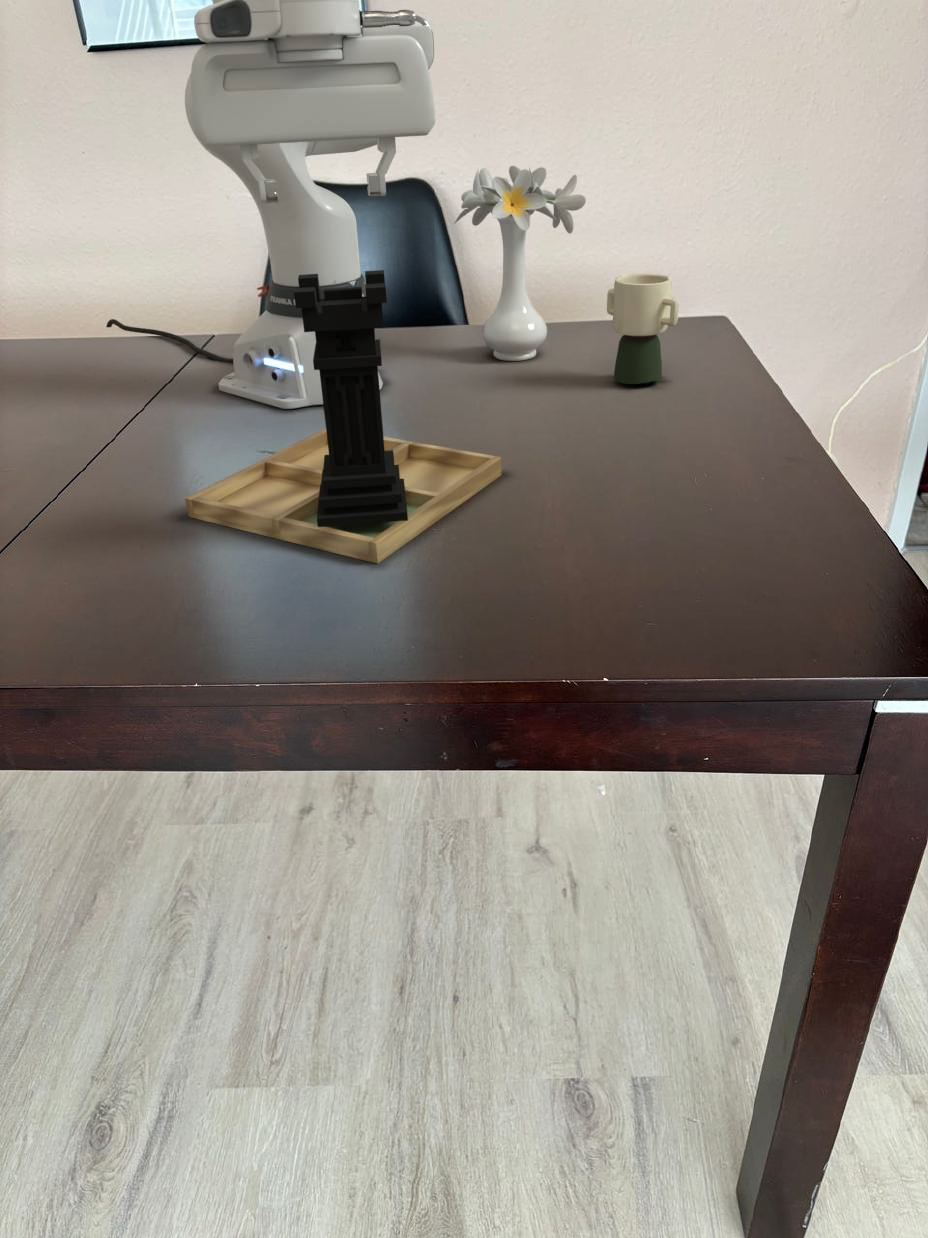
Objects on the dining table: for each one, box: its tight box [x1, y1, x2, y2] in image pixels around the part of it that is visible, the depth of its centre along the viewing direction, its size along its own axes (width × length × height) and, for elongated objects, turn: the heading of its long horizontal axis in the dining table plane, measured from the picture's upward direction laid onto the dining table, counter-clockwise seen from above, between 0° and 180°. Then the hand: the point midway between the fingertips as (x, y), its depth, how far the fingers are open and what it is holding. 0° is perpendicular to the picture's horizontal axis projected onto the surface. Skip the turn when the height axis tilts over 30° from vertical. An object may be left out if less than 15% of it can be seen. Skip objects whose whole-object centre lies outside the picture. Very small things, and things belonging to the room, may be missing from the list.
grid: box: [184, 427, 502, 564], centre depth 95 cm, size 22×22×2 cm
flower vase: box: [453, 165, 587, 362], centre depth 132 cm, size 13×18×25 cm
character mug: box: [606, 273, 680, 386], centre depth 121 cm, size 11×7×13 cm, turn 43°
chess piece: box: [294, 269, 408, 527], centre depth 83 cm, size 8×8×20 cm
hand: (323, 198), depth 84 cm, fingers open, 8 cm apart
